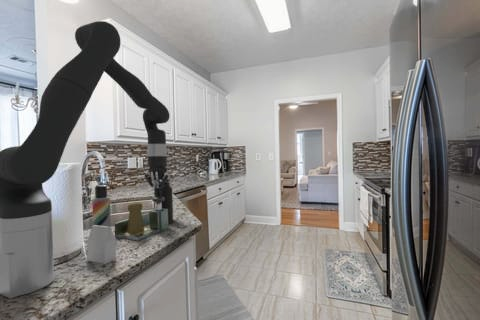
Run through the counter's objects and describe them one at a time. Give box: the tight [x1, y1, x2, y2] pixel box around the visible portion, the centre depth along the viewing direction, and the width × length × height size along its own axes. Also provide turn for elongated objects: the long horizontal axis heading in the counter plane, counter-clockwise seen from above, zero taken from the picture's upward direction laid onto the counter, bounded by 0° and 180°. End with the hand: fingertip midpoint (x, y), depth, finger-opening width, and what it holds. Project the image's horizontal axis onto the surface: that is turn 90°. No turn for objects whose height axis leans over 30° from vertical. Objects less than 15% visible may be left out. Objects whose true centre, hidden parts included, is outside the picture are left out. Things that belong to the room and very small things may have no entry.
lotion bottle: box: [91, 184, 112, 228], centre depth 86 cm, size 6×6×20 cm
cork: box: [127, 201, 144, 233], centre depth 90 cm, size 6×6×11 cm
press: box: [114, 208, 170, 242], centre depth 92 cm, size 16×12×8 cm
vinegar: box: [161, 179, 174, 223], centre depth 108 cm, size 7×7×20 cm
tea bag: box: [86, 224, 117, 265], centre depth 68 cm, size 4×7×10 cm, turn 71°
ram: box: [151, 196, 164, 211], centre depth 96 cm, size 5×5×8 cm
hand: (158, 196), depth 95 cm, fingers closed
